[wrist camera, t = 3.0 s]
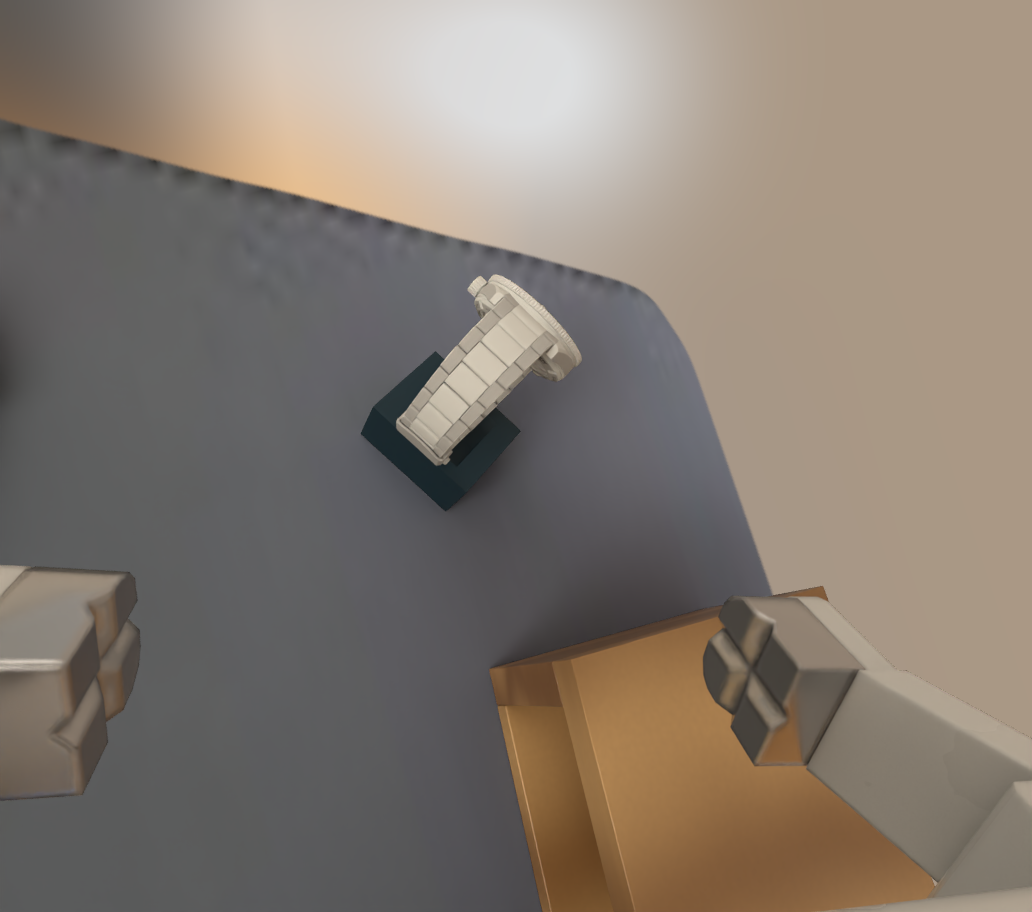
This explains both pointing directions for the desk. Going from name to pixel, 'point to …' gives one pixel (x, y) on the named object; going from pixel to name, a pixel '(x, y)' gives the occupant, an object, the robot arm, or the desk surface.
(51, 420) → the desk surface
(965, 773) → the robot arm
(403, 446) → the watch
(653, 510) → the desk surface
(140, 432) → the desk surface
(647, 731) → the wooden display stand
